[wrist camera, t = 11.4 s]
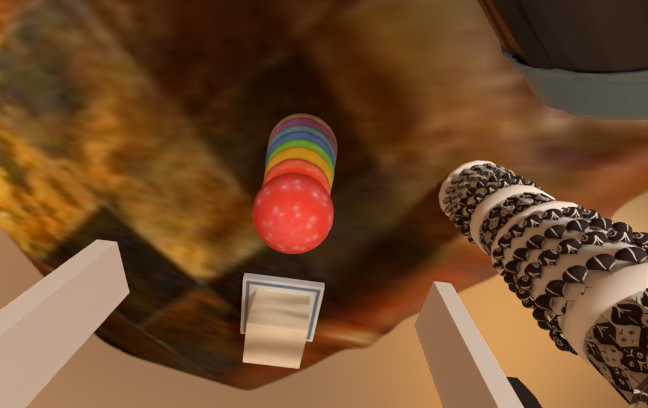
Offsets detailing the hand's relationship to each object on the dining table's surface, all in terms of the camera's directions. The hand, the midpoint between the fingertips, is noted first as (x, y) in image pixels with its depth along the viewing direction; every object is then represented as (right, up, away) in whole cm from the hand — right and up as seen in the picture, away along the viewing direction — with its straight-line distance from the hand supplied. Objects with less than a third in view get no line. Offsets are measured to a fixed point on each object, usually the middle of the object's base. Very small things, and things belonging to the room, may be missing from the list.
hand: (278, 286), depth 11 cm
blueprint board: (-5, -13, +31) cm, 34 cm away
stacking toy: (0, +10, +20) cm, 23 cm away
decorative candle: (+21, +5, +23) cm, 31 cm away
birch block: (-5, -13, +30) cm, 33 cm away
